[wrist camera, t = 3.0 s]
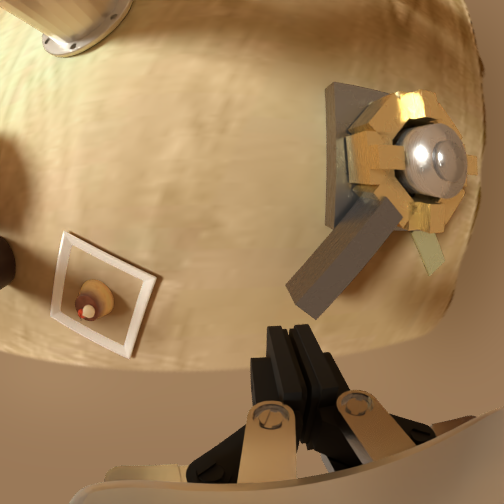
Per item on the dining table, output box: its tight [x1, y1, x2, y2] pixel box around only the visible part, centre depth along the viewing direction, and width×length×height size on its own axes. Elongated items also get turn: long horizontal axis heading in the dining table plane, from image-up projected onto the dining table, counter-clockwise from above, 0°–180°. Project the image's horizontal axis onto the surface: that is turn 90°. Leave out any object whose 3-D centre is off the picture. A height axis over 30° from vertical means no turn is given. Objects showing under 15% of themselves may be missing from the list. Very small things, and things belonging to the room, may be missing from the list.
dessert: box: [50, 231, 157, 359], centre depth 25 cm, size 12×12×5 cm
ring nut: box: [286, 89, 478, 320], centre depth 21 cm, size 22×12×6 cm, turn 140°
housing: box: [325, 82, 468, 276], centre depth 21 cm, size 20×18×10 cm
